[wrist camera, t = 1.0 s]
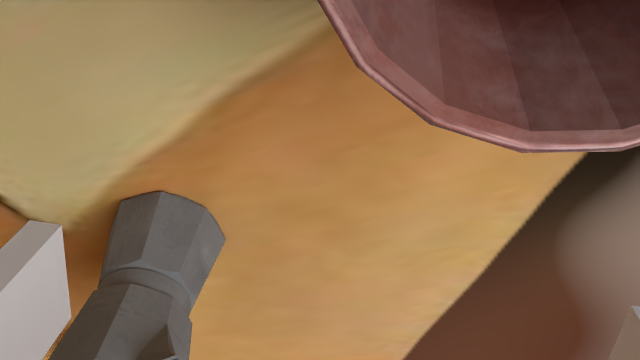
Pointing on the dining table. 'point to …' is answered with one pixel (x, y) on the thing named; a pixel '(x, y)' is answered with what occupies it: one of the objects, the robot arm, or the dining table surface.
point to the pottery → (505, 67)
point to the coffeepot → (146, 282)
